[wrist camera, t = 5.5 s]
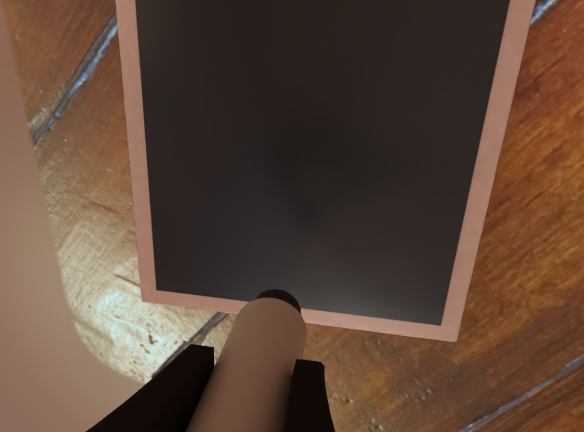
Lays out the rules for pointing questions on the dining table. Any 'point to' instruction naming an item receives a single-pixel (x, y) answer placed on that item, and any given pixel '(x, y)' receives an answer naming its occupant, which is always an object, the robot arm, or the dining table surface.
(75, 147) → the dining table surface
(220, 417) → the stylus
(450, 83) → the tablet
